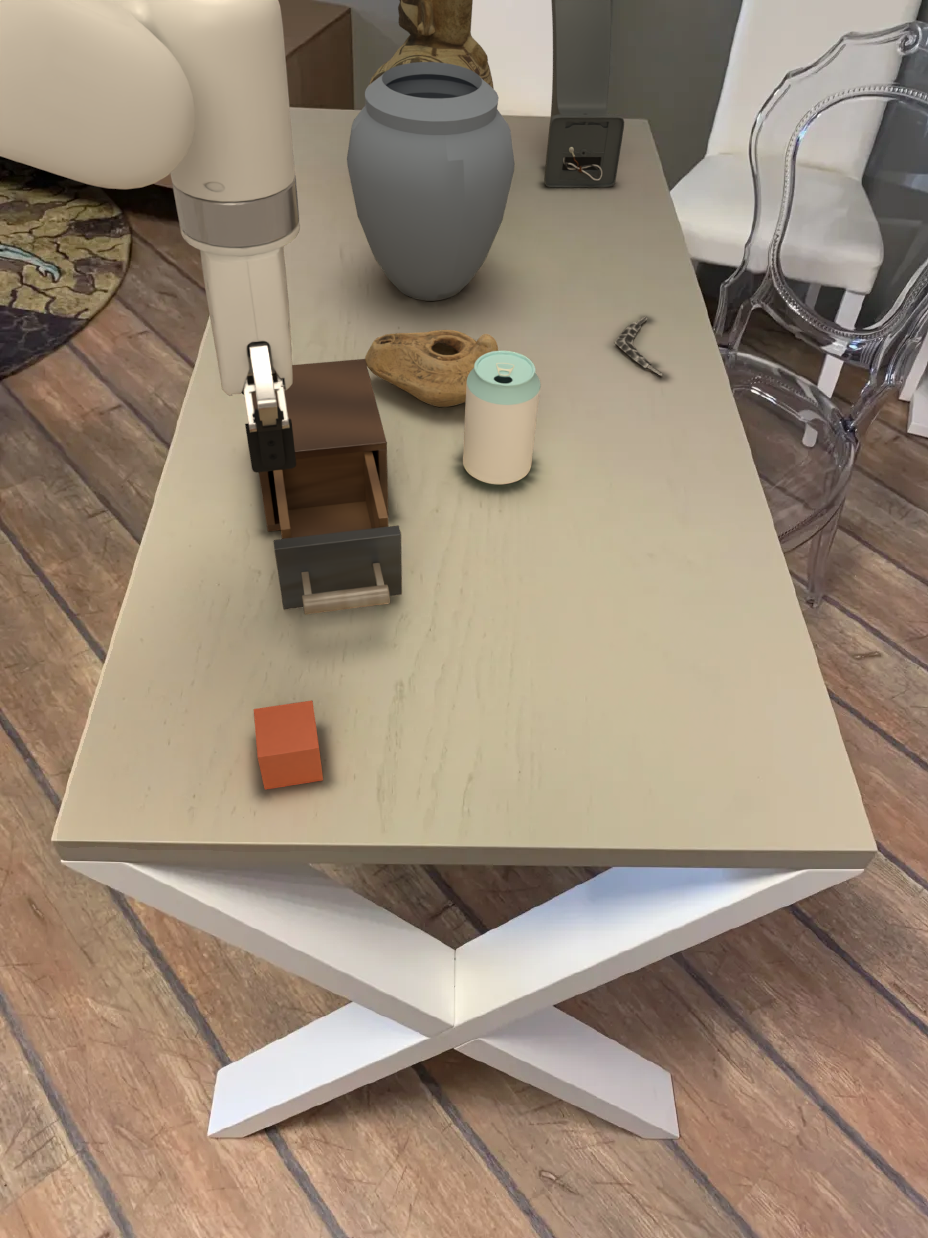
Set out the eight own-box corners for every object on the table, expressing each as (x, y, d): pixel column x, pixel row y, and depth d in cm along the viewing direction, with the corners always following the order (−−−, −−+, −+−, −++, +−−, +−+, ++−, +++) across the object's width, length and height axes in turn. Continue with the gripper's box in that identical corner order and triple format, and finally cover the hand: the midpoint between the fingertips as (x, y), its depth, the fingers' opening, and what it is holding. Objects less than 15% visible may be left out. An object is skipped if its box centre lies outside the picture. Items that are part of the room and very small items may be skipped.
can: (543, 476, 97) (557, 376, 88) (485, 497, 94) (492, 396, 85) (507, 438, 101) (516, 339, 92) (450, 458, 98) (453, 357, 89)
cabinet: (388, 517, 91) (386, 442, 85) (267, 531, 89) (255, 455, 83) (368, 433, 100) (365, 358, 93) (257, 444, 98) (246, 368, 92)
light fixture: (592, 141, 154) (616, -34, 136) (615, 188, 143) (644, 3, 125) (527, 141, 153) (542, -35, 135) (544, 188, 142) (564, 2, 124)
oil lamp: (367, 363, 109) (365, 300, 103) (497, 366, 110) (501, 303, 104) (363, 421, 102) (360, 356, 96) (502, 423, 102) (507, 359, 96)
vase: (410, 235, 130) (409, 37, 112) (532, 278, 124) (552, 75, 105) (322, 294, 119) (305, 84, 101) (451, 344, 112) (459, 129, 94)
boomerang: (608, 311, 117) (647, 314, 117) (607, 317, 118) (646, 320, 118) (622, 370, 108) (664, 373, 109) (620, 375, 109) (663, 378, 109)
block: (264, 790, 71) (257, 757, 67) (260, 742, 74) (253, 708, 70) (323, 780, 71) (319, 747, 68) (316, 733, 74) (312, 699, 71)
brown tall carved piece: (328, 178, 141) (312, -63, 119) (425, 140, 152) (427, -88, 130) (420, 221, 133) (422, -29, 111) (515, 177, 144) (534, -58, 122)
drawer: (410, 631, 81) (410, 570, 75) (288, 647, 79) (278, 587, 73) (380, 502, 92) (378, 442, 86) (272, 514, 90) (262, 453, 84)
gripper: (171, 152, 64) (210, 369, 77) (182, 278, 53) (225, 508, 66) (282, 147, 66) (302, 361, 78) (316, 268, 55) (333, 495, 67)
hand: (267, 428), depth 72 cm, fingers open, 9 cm apart
